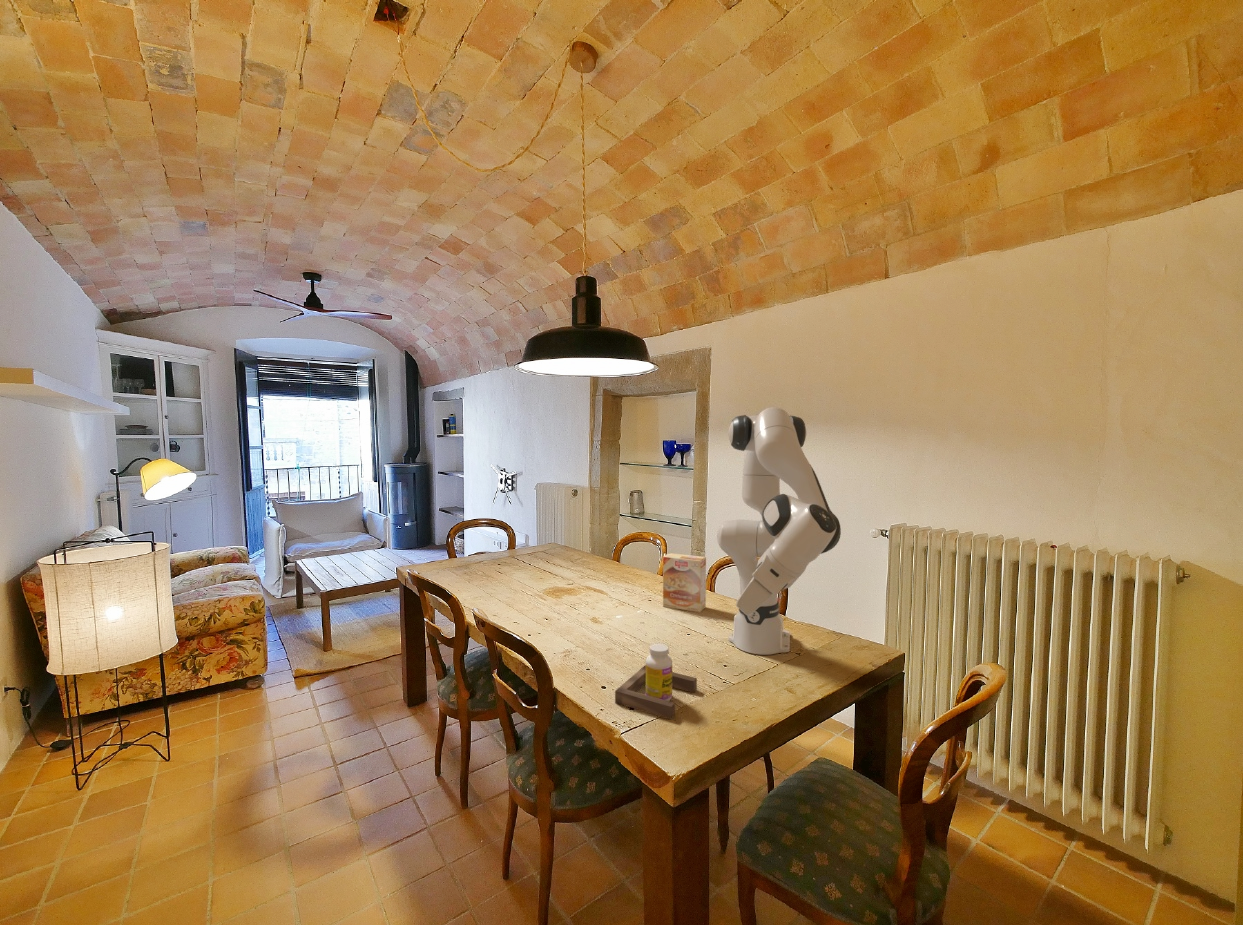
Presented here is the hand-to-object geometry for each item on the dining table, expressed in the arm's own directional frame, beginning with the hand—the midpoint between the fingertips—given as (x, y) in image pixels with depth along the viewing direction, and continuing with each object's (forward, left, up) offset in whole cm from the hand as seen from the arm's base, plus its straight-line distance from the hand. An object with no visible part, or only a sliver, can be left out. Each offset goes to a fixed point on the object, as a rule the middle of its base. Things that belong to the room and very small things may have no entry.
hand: (743, 608), depth 121 cm
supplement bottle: (+3, -20, -25) cm, 33 cm away
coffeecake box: (-62, -41, -25) cm, 79 cm away
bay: (+3, -20, -25) cm, 32 cm away
